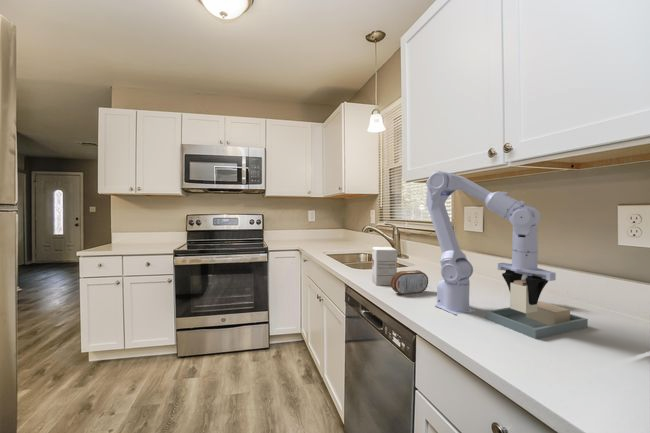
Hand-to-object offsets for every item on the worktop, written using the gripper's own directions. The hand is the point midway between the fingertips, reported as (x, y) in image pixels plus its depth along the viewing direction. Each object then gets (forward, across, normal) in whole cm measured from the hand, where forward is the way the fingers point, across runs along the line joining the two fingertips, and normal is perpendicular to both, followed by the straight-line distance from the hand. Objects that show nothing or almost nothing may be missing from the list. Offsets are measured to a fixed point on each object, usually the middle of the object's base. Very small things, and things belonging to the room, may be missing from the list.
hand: (523, 301), depth 81 cm
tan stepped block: (+6, 0, +10) cm, 12 cm away
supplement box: (+7, -55, -10) cm, 56 cm away
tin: (+7, -38, -8) cm, 40 cm away
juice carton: (+2, 0, 0) cm, 2 cm away
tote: (+7, 0, +4) cm, 8 cm away
